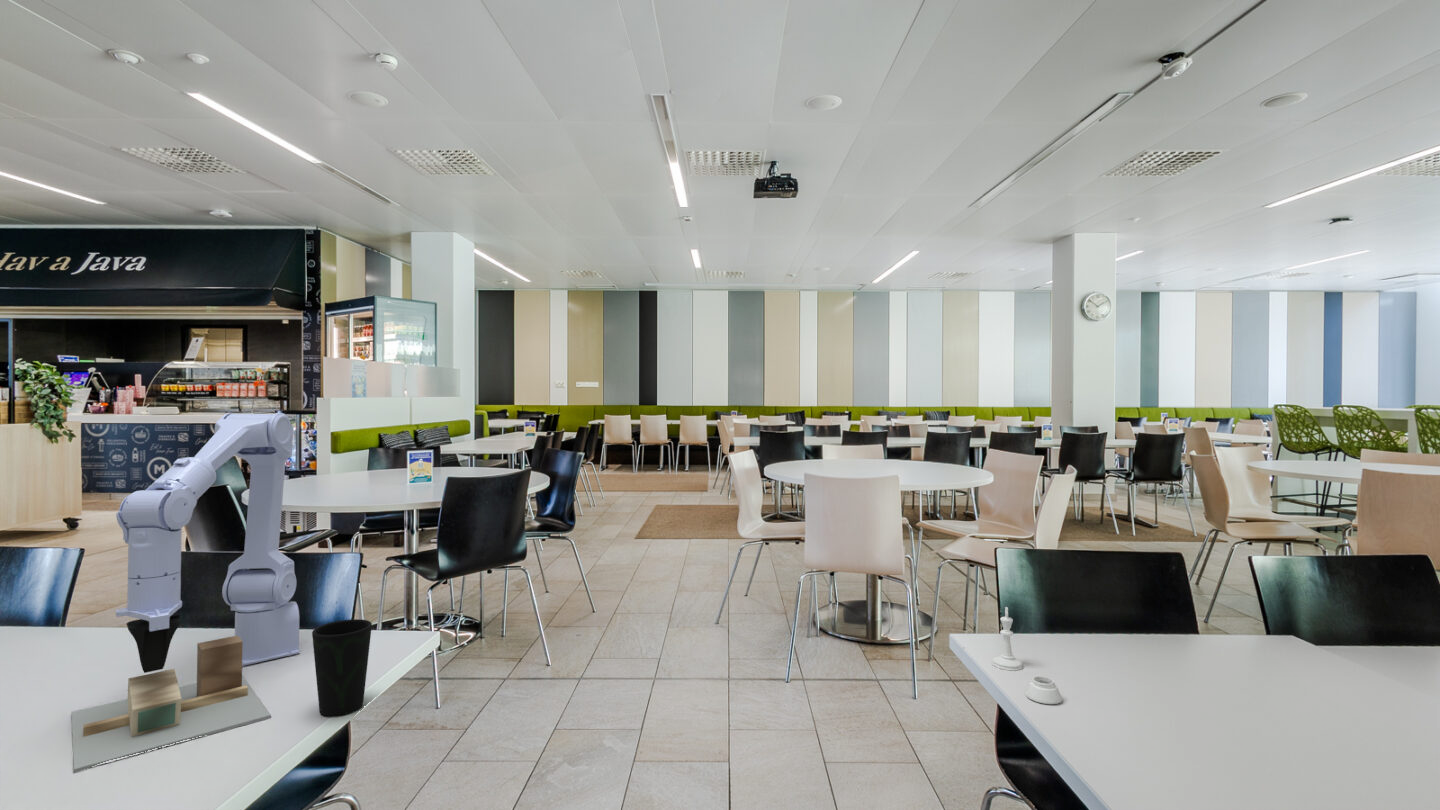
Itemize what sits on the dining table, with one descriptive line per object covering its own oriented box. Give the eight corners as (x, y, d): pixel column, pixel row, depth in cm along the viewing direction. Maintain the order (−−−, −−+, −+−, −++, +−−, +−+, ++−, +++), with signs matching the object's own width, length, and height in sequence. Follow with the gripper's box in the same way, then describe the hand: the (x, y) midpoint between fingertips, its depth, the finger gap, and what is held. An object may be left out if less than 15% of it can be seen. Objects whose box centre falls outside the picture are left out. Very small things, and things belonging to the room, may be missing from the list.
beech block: (174, 668, 95) (181, 699, 89) (173, 693, 95) (180, 724, 90) (128, 678, 91) (132, 710, 85) (127, 703, 92) (131, 737, 86)
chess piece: (991, 668, 111) (991, 609, 111) (991, 658, 115) (991, 602, 116) (1023, 672, 109) (1022, 613, 109) (1021, 662, 113) (1021, 605, 114)
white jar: (1018, 693, 101) (1039, 707, 96) (1018, 674, 101) (1039, 687, 96) (1047, 691, 102) (1069, 705, 97) (1047, 672, 102) (1069, 685, 97)
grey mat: (240, 675, 108) (240, 672, 108) (270, 717, 92) (270, 714, 92) (71, 714, 93) (71, 711, 93) (73, 772, 78) (73, 769, 78)
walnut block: (236, 685, 102) (237, 635, 103) (241, 693, 100) (242, 641, 100) (196, 695, 99) (197, 643, 99) (200, 703, 96) (201, 649, 96)
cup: (382, 701, 98) (383, 622, 98) (338, 724, 91) (339, 638, 91) (344, 694, 100) (345, 617, 101) (298, 715, 93) (299, 632, 93)
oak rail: (246, 693, 100) (246, 685, 100) (247, 695, 99) (247, 687, 99) (83, 733, 87) (83, 724, 87) (83, 736, 86) (83, 727, 86)
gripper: (113, 570, 94) (111, 663, 94) (119, 588, 84) (118, 693, 84) (176, 562, 99) (174, 651, 99) (189, 578, 89) (187, 677, 89)
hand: (153, 669), depth 92 cm, fingers closed
